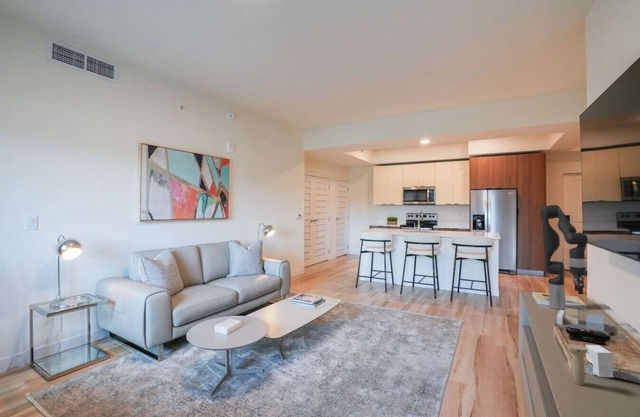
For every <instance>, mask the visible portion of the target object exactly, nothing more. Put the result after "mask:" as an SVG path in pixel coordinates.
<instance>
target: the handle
mask: <svg viewBox="0 0 640 417" xmlns="http://www.w3.org/2000/svg"><path fill="white" fill-rule="evenodd" d="M566 346H567V348H566V349H568V351H571V354H572V357H571V358H572V359H571V360H572V363H571V369H572V370H571V371H572V372H571V373H572V377H573V381H574V383H575V384H576V385H579V386H585V379H586V370H585V363H584V354H586V353H587V352H588V349H587V348H586V346H583V345H580V344H573V343H572V344H570V343H568V344H567V345H566Z"/></svg>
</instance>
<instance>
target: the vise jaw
mask: <svg viewBox="0 0 640 417" xmlns="http://www.w3.org/2000/svg"><path fill="white" fill-rule="evenodd" d="M585 321H586V328H587V329H592V330H597V331H603V332H604V327H605V324H606V323H605V322H606V321H605V316H603V315H597V314H591V313H587V316H586V320H585Z"/></svg>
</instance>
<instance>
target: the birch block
mask: <svg viewBox="0 0 640 417" xmlns="http://www.w3.org/2000/svg"><path fill="white" fill-rule="evenodd" d="M564 310H565V321H566V322H567V323H573V324H579V320H580V318H579V309H577V308H572V307H566V308H565V309H564Z"/></svg>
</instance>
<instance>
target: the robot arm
mask: <svg viewBox="0 0 640 417" xmlns="http://www.w3.org/2000/svg"><path fill="white" fill-rule="evenodd" d="M539 215H540V220H541V225H542V236H543V239H542V240H543V249H544V250H543V251H544V269H545V272H546V274H548V275H549V274H550V275H557V276H555V277H551V278H548V280H547V283H548V284H547V286H548V303H549V308H551V309H555V310H565V308H567V306H566V291H565V290H566V289H565V265H564V262H563V261H554V260H551V259H552V257H553V255H554V253H555V252H556V251H557V250H558V249H559V248H560V246H561V244H560V243H561V240H560V239H561V238H560V235H559V233H558V232H557V231H556V230H555V229H554V228H553V227H552V225H551V224H550V221H549V220H550V219H551V220H552V219H558V221H557V228H558V229H559V231H560V232H561V234H562V235H563V238H564V241H565V243H566V244H568V245H576V247H573V248H569V250H568V252H569V255H568V256H569V261H568V262H569V273H570V274H572V282H573V284H574V291H575V292H577V294H578V295H584V288H585V280H584V279H585V278H584V277H583V276H582V275H586V274H587V266H586V264H587V263H586V256H585V252H586V246H587V245H588V240H589V238H588V235H587V234H586V233H584V232H577V229H576V228H575V226H574V225H573V224H572V223H571V222H570V220H568V218H567V216H566V215H565V212H564V211H563V210H562V208H561V207H560V206H559V205H558V204H550V205H544V206H541V207H540V210H539Z"/></svg>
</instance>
